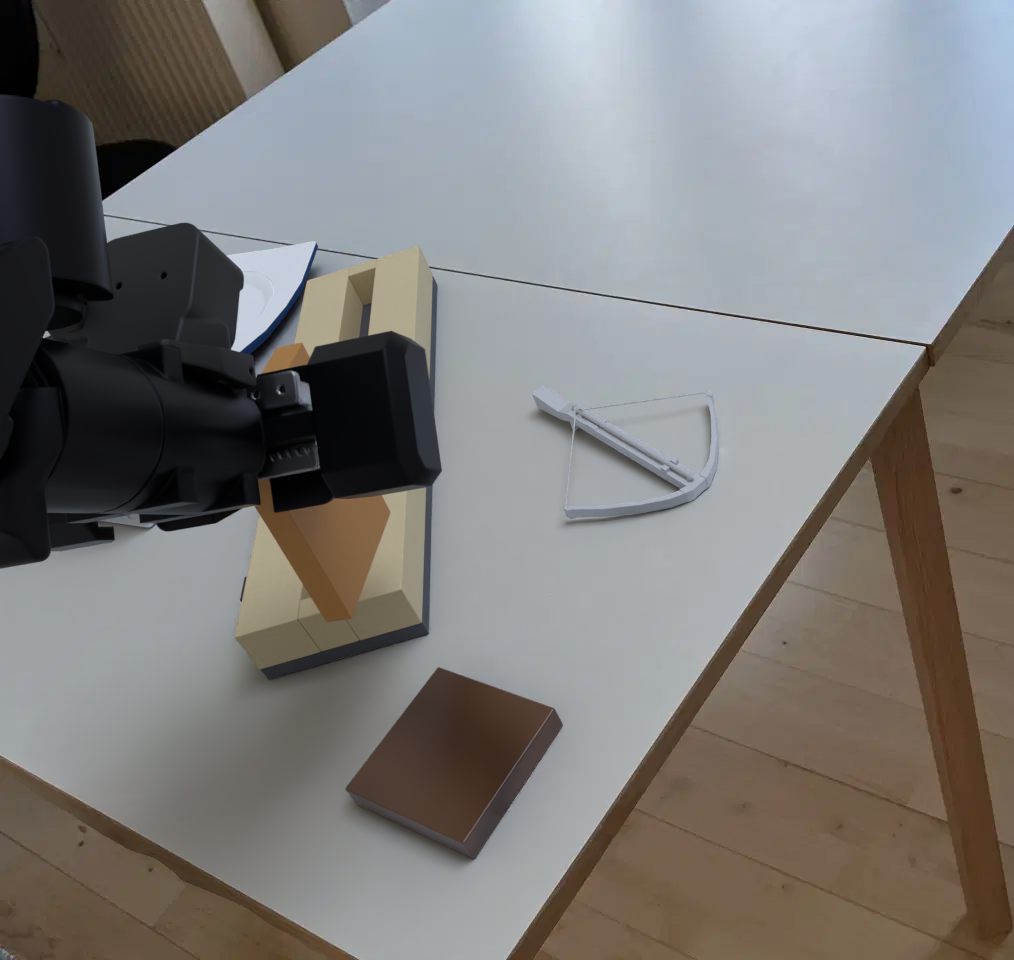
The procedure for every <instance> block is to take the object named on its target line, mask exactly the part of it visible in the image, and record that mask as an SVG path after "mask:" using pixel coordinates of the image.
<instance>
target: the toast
mask: <svg viewBox="0 0 1014 960" xmlns="http://www.w3.org/2000/svg"><path fill="white" fill-rule="evenodd" d="M309 359H310V357H309V355H308V353H307V351H306V349H305V347H304V345H303V343H296V344H294V343H292V344H288V345H283V346H278V347H276V348H275V349H274V351H273V353H272V354H271V356H270V358H269V360H268V361H267V363H266V364H265V367H264V368H263V370H262V371H261V373H260V374H262V373H267V372H272V371H277V370H282V369H287V368H292V367H296V366H301V365H307V363H308V361H309ZM258 484H259V492H260V500H261V505H257V506H254V508H255V509H256V511H257V512H258V514H259V515H260V516H261V517H262V519H263V521H264V522H265V524H266V526H267V527H268V529H269V530H270V532H271V534H272V535H273V537H274V539H275V540H276V542H277V543H278V545H279V547H280V548H281V550H282V551H283V553H284V555H285V556H286V558H287V560H288V561H289V563H290V564H291V566H292V568H293V569H294V571H295V573H296V574H297V576H298V577H299V579H300V581H301V582H302V584H303V585H304V587H305V589H306V590H307V592H308V594H309V595H310V597H311V598H312V600H313V602H314V603H315V605H316V607H317V608H318V610H319V611H320V613H321V615H322V616H323V618H324V620H325V621H326V622H333V621H340V620H346V619H351V618H352V617H353V614H354V611H355V608H356V606H357V603H358V600H359V597H360V595H361V592H362V589H363V587H364V584H365V581H366V578H367V576H368V573H369V570H370V567H371V565H372V562H373V559H374V557H375V554H376V551H377V548H378V546H379V543H380V540H381V537H382V535H383V532H384V529H385V527H386V524H387V521H388V518H389V516H390V510H389V508H388V506H387V504H386V502H385V500H384V498H383V496H382V495H380V496H374V497H364V498H354V499H336V498H335V499H333V500H332V501H331V502H329V503H327V504H324V505H318V506H313V507H307V508H301V509H295V510H290V511H284V512H278V513H274V509H273V501H272V493H271V485H270V479H267V480H261V481H258Z"/></svg>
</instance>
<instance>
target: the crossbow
mask: <svg viewBox="0 0 1014 960" xmlns="http://www.w3.org/2000/svg"><path fill="white" fill-rule="evenodd" d="M704 394H705V395H706V400H707V405H708V409H709V414H710V433H711V434H710V436H711V439H710V448H709V457H708V460H707V462H706V464H705V466H704V468H703V469H702V470H701V472H700V474H699V473H697V472H696V471H694V470H692V469H691V468H688V467H687V466H685V465H684V464H682V463H680V461H679V459H678V458H676V457H674V456H672V457H670V456H668V455H667V454H665V453H663V452H661V450H658V449H656V448H654V447H653V446H651V445H650V444H647V443H646V442H644V441H642V440H641V439H639V438H638V437H636V436H634V435H632V434H630V433H629V432H627V431H625V430H624V429H622V428H620V427H619V426H617V425H615V424H614V423H612V422H610V421H608V419H606V418H605V417H603V416H601V415H600V414H596V413H595V412H593V411H591V410H595V409H603V408H609V407H615V406H625V405H631V404H632V405H633V404H637V403H644V402H645V403H646V402H653V401H660V400H668V399H674V398H681V397H688V396H696V395H704ZM531 395H532V399H533V400H534V403H535V405H536V407H537V408H538V409H539V410H541V411H543V412H545V413H547V414H549V415H551V416H553V417H555V418H557V419H559V420H561V421H565V422H569V424H570V426H571V428H572V438H571V445H570V446H571V447H570V457H569V465H568V466H569V467H568V476H567V484H566V495H565V505H564V506H562V509H563V511H564V514H565V516H566V517H567V518H568V519H570V520H573V519H581V518H582V519H583V518H610V517H620V516H629V515H638V514H644V513H650V512H655V511H661V510H665V509H672V508H674V507H677V506H679V505H683V504H685V503H690V502H692V501H694V500H696V499H697V497H698V496H700V495H701V494H702V493H703V492H704V491H705V490H706V489H709V488H710V486H711V485H712V483H713V478H714V477H715V474H716V472H717V469H718V460H719V459H718V458H719V449H720V447H719V429H718V428H719V427H718V425H719V424H718V420H717V417H716V413H715V407H714V404H715V399H714V395H713V392H712V391H710V390H708V389H706V390H705V391H699V392H693V393H686V394H679V395H678V394H677V395H672V396H670V395H669V396H664V397H657V398H649V399H642V400H636V401H635V400H634V401H628V402H621V403H613V404H606V405H599V406H592V407H584V406H582V405H581V404H579V403H575V402H570V401H568V400H567V399H566V398H564V397H563V396H561V395H560V394H559V393H557V392H556V391H554V390H553V389H551V388H550V387H548V386H547V385H545V384H543V385H542V386H540V387H539V388H538V389H536V390H535V391H534V392H532V393H531ZM579 429H581V430H583V431H584V432H586V433H587V434H589V435H591V436H593V437H594V438H595V439H597V440H599V441H601V442H602V443H604V444H606V445H607V446H609V447H610V448H612V449H614V450H616V451H617V452H619V453H621V454H622V455H623V456H625V457H627V458H629V459H630V460H632V461H633V462H635V463H637V464H639V465H640V466H642V467H643V468H645V469H647V470H648V471H650V472H651V473H654V474H655V475H657V476H658V477H659V478H661V479H663V480H665V481H666V482H668V483H670V484H671V485H673V486H675V487H677V488H678V489H679V490H677V491H674V492H672V493H669V494H665V495H663V496H656V497H651V498H647V499H641V500H636V501H628V502H620V503H619V502H618V503H610V504H601V505H571V506H570V505H568V499H569V491H570V481H571V471H572V461H573V451H574V440H575V432H577V431H578V430H579Z"/></svg>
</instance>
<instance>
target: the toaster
mask: <svg viewBox="0 0 1014 960" xmlns="http://www.w3.org/2000/svg"><path fill="white" fill-rule="evenodd" d="M437 307H438V283H437V281H436V279H435V276H434V274H433V272H432V270H431V268H430V266H429V263H428V261H427V259H426V257H425V255H424V253H423V250H422V248H421V246H420V245H416V246H413V247H410V248H406V249H403V250H401V251H397V252H394V253H391V254H387V255H384V256H381V257H378V258H375V259H374V258H373V259H372V260H368V261H365V262H361V263H359V264H355V265H352V266H349V267H346V268H343V269H340V270H336V271H333V272H330V273H327V274H323V275H320V276H317V277H314V278H311V279H306V282H305V289H304V293H303V298H302V303H301V309H300V313H299V317H298V323H297V328H296V333H295V338H294V343H293V344H296V343H303V345H304V347H305V349H306V351H307V353H308V355H309V357H311V355H312V352H313V350H314V348H315V347H316V346H320V345H325V344H330V343H335V342H340V341H344V340H349V339H354V338H359V337H364V336H368V335H373V334H378V333H383V332H388V331H393V332H396V333H398V334H401V335H403V336H406V337H408V338H411V339H412V340H414V341H415V342H416V343H418V344H419V345H420V346H422V347H423V348H424V349H425V352H426V359H427V366H428V374H429V381H430V388H431V395H432V402H433V409H434V410H435V394H436V393H435V391H436V389H435V388H436V351H437V350H436V349H437V311H438V309H437ZM382 496H383V498H384V500H385V502H386V504H387V506H388V508H389V510H390V516H389V518H388V521H387V524H386V527H385V529H384V532H383V535H382V537H381V540H380V543H379V546H378V548H377V551H376V554H375V557H374V559H373V562H372V565H371V567H370V570H369V573H368V576H367V578H366V581H365V584H364V587H363V589H362V592H361V595H360V597H359V600H358V603H357V606H356V608H355V611H354V614H353V617H352V618H351V619H346V620H340V621H333V622H326V621H325V620H324V618H323V616H322V615H321V613H320V611H319V610H318V608H317V607H316V605H315V603H314V602H313V600H312V598H311V597H310V595H309V594H308V592H307V590H306V589H305V587H304V585H303V584H302V582H301V581H300V579H299V577H298V576H297V574H296V573H295V571H294V569H293V568H292V566H291V564H290V563H289V561H288V560H287V558H286V556H285V555H284V553H283V551H282V550H281V548H280V547H279V545H278V543H277V542H276V540H275V539H274V537H273V535H272V534H271V532H270V530H269V529H268V527H267V526H266V524H265V522H264V521H263V519H262V517H261V516H260V514H259V515H258V519H257V525H256V529H255V535H254V539H253V545H252V549H251V555H250V558H249V564H248V569H247V574H246V576H244V577H243V583H242V588H241V591H240V592H241V593H240V597H239V601H240V603H241V605H240V608H239V613H238V618H237V622H236V628H235V633H234V639H235V640H236V642H238V644H239V645H240V646H241V648H242V649H243V650H244V652H246V654H247V656H249V658H250V659H251V660H252V661H253V662H254V664H255V665H256V666H257V667H258V669H259V670H260V671H261V672H262V674H263V675H264V677H266V679H267V680H271V679H272V680H273V679H275V678H279V677H282V676H286V675H289V674H292V673H296V672H300V671H303V670H306V669H310V668H314V667H318V666H322V665H324V664H328V663H332V662H335V661H338V660H342V659H346V658H350V657H352V656H355V655H359V654H363V653H366V652H371V651H374V650H376V649H380V648H383V647H387V646H390V645H394V644H398V643H402V642H405V641H408V640H411V639H415V638H418V637H421V636H426V635H429V633H430V632H429V631H430V597H431V596H430V593H431V591H430V590H431V555H432V554H431V551H432V549H431V548H432V516H433V515H432V511H433V510H432V509H433V485H432V486H431V487H426V488H420V489H414V490H408V491H403V492H397V493H391V494H385V495H382Z"/></svg>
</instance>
